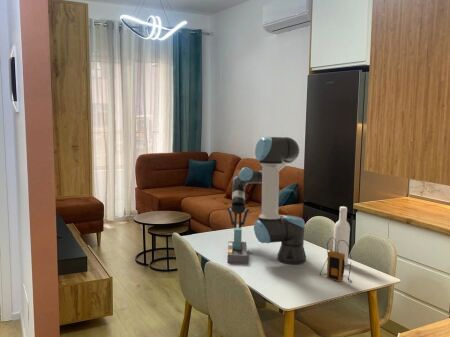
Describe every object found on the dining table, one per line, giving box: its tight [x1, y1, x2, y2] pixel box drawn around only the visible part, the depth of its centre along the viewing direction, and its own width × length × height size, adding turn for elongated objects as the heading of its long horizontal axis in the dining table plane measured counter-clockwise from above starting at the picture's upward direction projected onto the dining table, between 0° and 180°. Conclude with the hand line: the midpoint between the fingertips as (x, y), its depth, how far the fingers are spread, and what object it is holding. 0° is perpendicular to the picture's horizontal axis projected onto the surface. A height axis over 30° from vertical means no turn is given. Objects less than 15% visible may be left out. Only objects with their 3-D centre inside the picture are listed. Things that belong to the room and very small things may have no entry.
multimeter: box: [319, 237, 352, 283], centre depth 209 cm, size 15×10×20 cm
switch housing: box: [226, 240, 248, 264], centre depth 238 cm, size 24×10×4 cm, turn 178°
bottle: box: [332, 206, 351, 266], centre depth 229 cm, size 8×8×30 cm
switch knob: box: [233, 227, 243, 250], centre depth 242 cm, size 5×4×11 cm
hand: (237, 235), depth 245 cm, fingers closed
